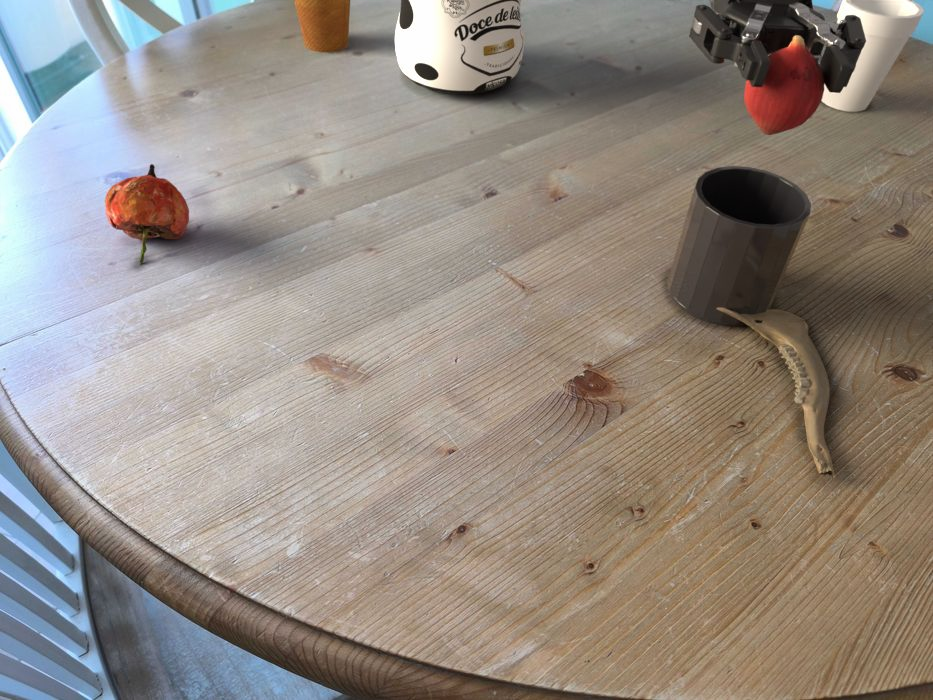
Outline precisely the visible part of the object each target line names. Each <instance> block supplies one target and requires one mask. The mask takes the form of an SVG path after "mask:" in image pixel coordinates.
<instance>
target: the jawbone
mask: <svg viewBox="0 0 933 700" xmlns="http://www.w3.org/2000/svg"><path fill="white" fill-rule="evenodd" d="M716 309H717V310H719V311H722V312H724V313H726V314H729V315H731V316H732V317H734V318H736V319H738V320H740V321H742V322H744V323H745V324H747V325H746V326H748V327H750V328H751V329H752V330H754V331H755V332H757V333H758V334H759V335H760V336H761V337H762V338H764V339H765V340H767V341H768V342H770V343H771V344H773V345H774V346H775V347H776V348H777V349H778V353H779V354H781V355H782V356H781V359H783V360H786V361H784V364H785V365H786V366H787V369H788V370H789V371H790V375H792V376H791V378H792V380H793V381H794V383H795V385H794V387H795V388H796V389H795V391H794V392H793V394H795V397H794V398H793V399H794V400H793V401H794V403H795V404H796V405H798V406H801V407H802V409H803V413H804V414H803V417H804V425H805V432H806V441H807V446H808V449H809V451H810V453H811V454H812V457H813V462H814V464H815V466H816V469H817V472H818V474H820V475H822V476H824V477H828V476H829V478H830V479H831V480H833V479H835V470H834V466H833V462H832V456H831V453H830V449H829V447H828V446H827V444H826V439H825V422H826V418H827V414H828V409H829V404H830V396H831V395H830V392H831V391H830V390H831V388H830V381H829V378H828V374H827V371H826V368H825V365H824V363H823V360H822V359H821V356H820V354H819V352H818V350H817V348H816V346H815V344H814V342H813V341H812V339H811V337H810V336H809V330H810V329H809V325H808V323H807V322H806V321H805V318H803V317H801V316H799V315H797V314H794V313H791V312H790V311H788V310H782V309H777V308H769V309H767V311H766V312H763V313H758V314H739V313H737V312H735V311H731V310H728V309H726V308H716Z"/></svg>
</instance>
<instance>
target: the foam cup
mask: <svg viewBox="0 0 933 700" xmlns="http://www.w3.org/2000/svg"><path fill="white" fill-rule="evenodd" d="M924 12H925V10H924V9H923V7H922V5H920V4H919V3H917V2H915V1H913V0H842V1H841V4H840V6H839V9H838V11H837V14H836V18H837V19H836V23H838V24H839V23H840V21H841V20H844V19H845V16H847V15H855V16H857V17H859V18H860V19H861V23H862V27H863V31H864V35H865V38H866V43H865V45H864V48H863V49H862V51H861V53H860V56H859V58H858V61H857V63H856V67H855V70H854V72H853V73H852V75H851V77H850V80H849V82H848V85H847V87H843V89H842V91H841V92H840V93H834V92H829V90H828V89H827V87H826V85H825V84H824V93H823V97H822V101H821V103H823V104H825V105H826V106H828V107H830V108H832V109H835V110H838V111H844V112H848V113H849V112H854V113H855V112H856V113H857V112H858V113H859V112H861V111H866V109H867V108H868V107H869V105H870V104H871V102H872V100H873V99H874V97H875V95H876V94H877V93H878V91H879V89H880V87H881V85H882V84H883V83H884V81H885V78H886V77H887V75H888V74H889V72H890V71H891V69H892V68H893V66H894V64H895V62H896V60H897V59H898V57H899V56H900V54H901V52H902V50H904V47H905V45H906V44H907V42H908V41H909V39H910V37H911V36H913V34H914V33H915V32H916V31H917V28H918V26H919V23H920V21H921V19H922V17H923V15H924Z"/></svg>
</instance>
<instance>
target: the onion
mask: <svg viewBox="0 0 933 700" xmlns="http://www.w3.org/2000/svg"><path fill="white" fill-rule="evenodd" d="M768 56H769V58H770V66H769V69H768V72H767V75H766V78H765V81H764V84H763V86H762V87H752V86H751V84H750V82H749V80H746V82H745V86H744V92H743V95H744V96H743V101H744V105H745V108H746V111H747V112H748V114H749V115H750V117H751V118H752V120H753V121H754V123H755V124H756V126H757V127H758V128H759V131H760V132H761V133H763V135H766V136H772V135H776V134H779V133H783V132H787V131H790V130H793V129H795V128H798V127H800V126H801V125H802V126H803V124H805V123H806V122H807V121H808V120H809V119H810V118H811V117H813V115H814V114H815V113H816V112H817V109H818V108H819V106H820V104H821V103H822V97H823V93H824V77H823V73H822V70H821V68H820V66H819V64H818V62H817V60H816V59H815V57H814V56H813V55H812V54H811V53H810V51H809V50H808V48H807V47H806V46H805V44H804V39H803V38H802V37H801V36H798V35H795V36H794V37H793V39H792V41H791V43H790V45H789V46H788V47H786V48H783V49H780V50H778V51H776V52H774V53H772V54H769V55H768Z"/></svg>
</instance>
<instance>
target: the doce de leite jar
mask: <svg viewBox="0 0 933 700" xmlns="http://www.w3.org/2000/svg"><path fill="white" fill-rule="evenodd" d="M521 4H522V0H400V9H399V14H398V17H397V21H396V26H395V32H394V47H395V48H394V50H395V55H396V59H397V63H398V64H397V65H398V66H399V68H400V70H401V72H402V74H403V76H405V77H406V78H407V79H408V80H410V82H411V81H412V83H414V84H415V85H417V86H419V87H422V88H425V89H427V90H430V91H433V92H437V93H438V92H439V93H443V94H449V95H475V94H481V93H482V94H483V93H488V92H491V91H494V90H495V89H496V90H497V89H499V88H503V87H504V86H505V85H507V84H508V83H510V82H511V81H512V80H513V79H514V78H515V77H516V76H517V74H518V73H519V70H520V67H521V64H522V60H523V56H524V51H525V31H524V26H523V21H522V20H523V19H522V13H521V11H522V9H521Z"/></svg>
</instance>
